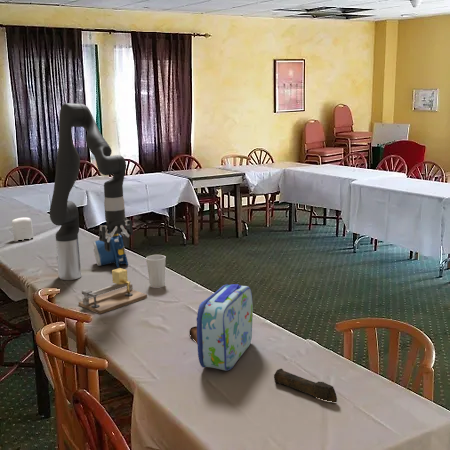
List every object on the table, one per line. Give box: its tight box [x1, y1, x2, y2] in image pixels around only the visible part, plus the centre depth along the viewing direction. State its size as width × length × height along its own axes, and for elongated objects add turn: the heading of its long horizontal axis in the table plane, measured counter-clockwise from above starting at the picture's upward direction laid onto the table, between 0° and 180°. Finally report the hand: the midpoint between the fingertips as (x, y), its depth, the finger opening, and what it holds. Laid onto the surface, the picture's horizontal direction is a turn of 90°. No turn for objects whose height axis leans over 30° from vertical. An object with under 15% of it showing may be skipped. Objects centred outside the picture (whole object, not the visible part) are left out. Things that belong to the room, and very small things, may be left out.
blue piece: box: [93, 233, 129, 269], centre depth 275 cm, size 13×15×15 cm
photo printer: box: [11, 216, 34, 242], centre depth 323 cm, size 10×4×12 cm, turn 117°
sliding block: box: [111, 267, 131, 294], centre depth 232 cm, size 8×4×9 cm, turn 47°
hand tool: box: [273, 368, 338, 402], centre depth 158 cm, size 19×4×5 cm, turn 45°
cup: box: [145, 254, 167, 289], centre depth 244 cm, size 8×8×12 cm
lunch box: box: [196, 283, 254, 372], centre depth 178 cm, size 26×11×21 cm, turn 159°
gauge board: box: [78, 279, 148, 315], centre depth 228 cm, size 14×22×6 cm, turn 137°
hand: (117, 248), depth 231 cm, fingers open, 8 cm apart
